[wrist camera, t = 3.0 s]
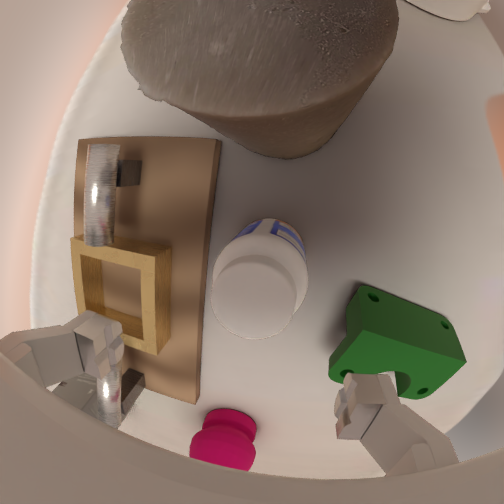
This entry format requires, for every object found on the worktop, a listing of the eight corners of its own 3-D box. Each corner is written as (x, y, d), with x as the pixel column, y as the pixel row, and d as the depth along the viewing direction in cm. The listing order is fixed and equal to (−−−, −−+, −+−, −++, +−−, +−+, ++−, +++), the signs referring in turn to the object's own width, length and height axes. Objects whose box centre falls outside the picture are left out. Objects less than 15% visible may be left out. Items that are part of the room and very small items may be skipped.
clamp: (342, 312, 27) (304, 365, 20) (371, 267, 24) (341, 314, 17) (428, 370, 22) (414, 436, 15) (464, 332, 19) (466, 399, 12)
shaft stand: (88, 140, 21) (15, 136, 13) (221, 141, 20) (167, 117, 11) (98, 359, 29) (56, 402, 20) (199, 396, 27) (170, 458, 18)
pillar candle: (365, 89, 17) (448, -27, 3) (299, 185, 20) (302, 189, 6) (262, 32, 17) (211, -100, 3) (196, 121, 20) (53, 57, 5)
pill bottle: (238, 282, 23) (201, 349, 13) (234, 217, 21) (188, 247, 12) (304, 283, 22) (307, 355, 13) (305, 216, 20) (312, 248, 11)
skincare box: (115, 367, 28) (42, 451, 13) (138, 407, 30) (83, 490, 15) (75, 362, 30) (9, 427, 15) (97, 399, 32) (43, 465, 17)
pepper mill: (267, 415, 26) (232, 576, 7) (253, 445, 29) (220, 575, 9) (205, 397, 27) (137, 549, 8) (199, 430, 29) (145, 554, 10)
